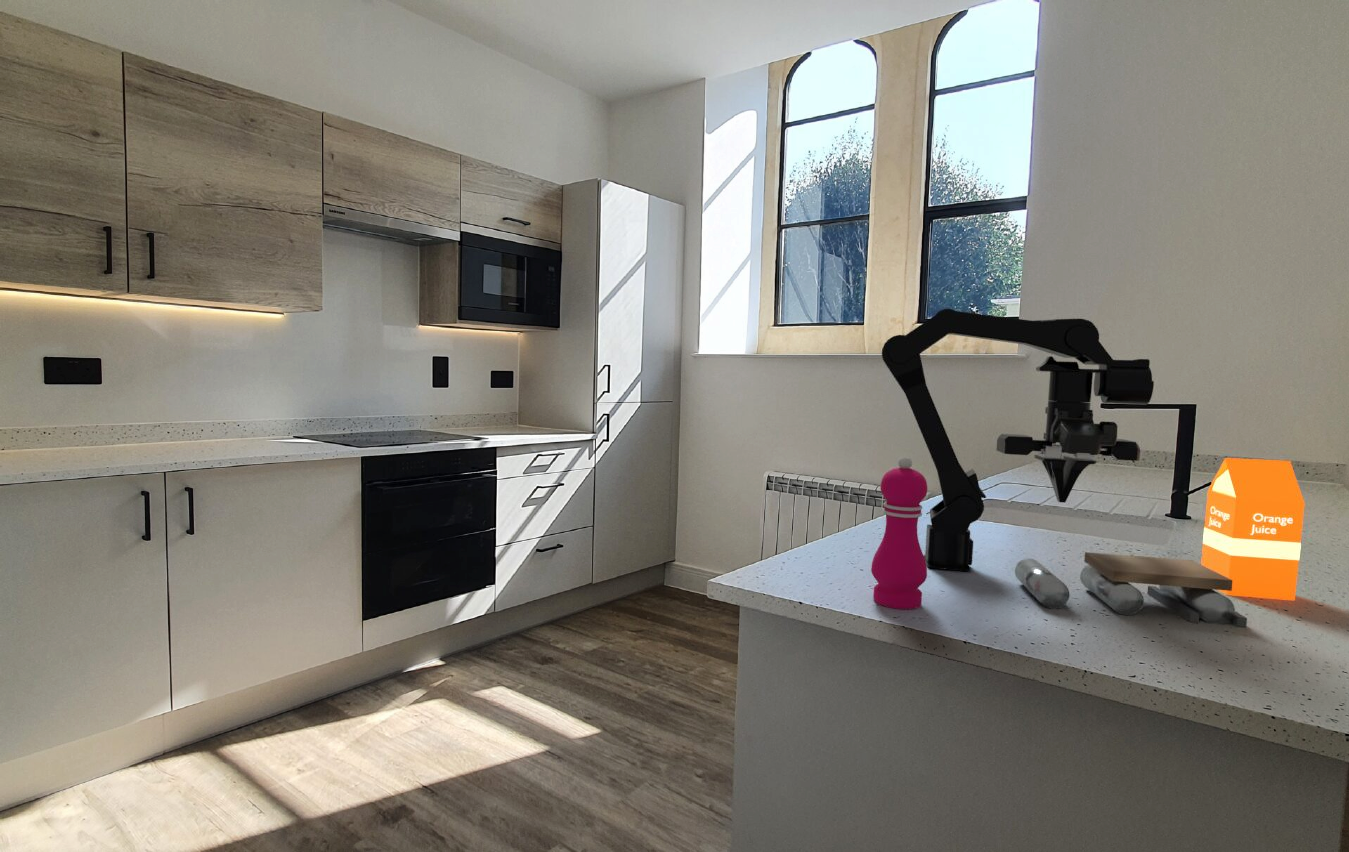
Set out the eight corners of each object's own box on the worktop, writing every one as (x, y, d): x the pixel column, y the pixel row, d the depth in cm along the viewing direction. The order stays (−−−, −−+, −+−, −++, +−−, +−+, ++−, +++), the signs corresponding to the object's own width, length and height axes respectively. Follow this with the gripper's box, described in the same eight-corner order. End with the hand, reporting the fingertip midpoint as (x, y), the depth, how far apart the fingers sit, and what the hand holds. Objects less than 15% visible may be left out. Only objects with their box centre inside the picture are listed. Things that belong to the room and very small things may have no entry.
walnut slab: (1112, 581, 93) (1113, 570, 93) (1084, 561, 102) (1085, 552, 102) (1231, 590, 90) (1232, 580, 90) (1191, 569, 100) (1192, 560, 99)
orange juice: (1295, 600, 101) (1309, 464, 99) (1226, 595, 102) (1239, 460, 101) (1262, 585, 108) (1274, 458, 107) (1198, 580, 110) (1209, 454, 109)
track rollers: (1036, 606, 94) (1038, 578, 94) (1014, 583, 105) (1015, 557, 105) (1142, 616, 92) (1145, 586, 91) (1108, 591, 102) (1110, 564, 102)
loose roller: (1157, 596, 101) (1161, 569, 101) (1187, 600, 100) (1192, 573, 100) (1197, 622, 90) (1202, 592, 90) (1231, 627, 90) (1237, 597, 89)
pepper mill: (882, 590, 100) (890, 452, 98) (932, 601, 95) (941, 457, 94) (860, 601, 94) (868, 455, 93) (913, 615, 90) (922, 461, 88)
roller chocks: (1189, 621, 90) (1190, 612, 90) (1147, 593, 102) (1147, 585, 102) (1246, 627, 89) (1247, 617, 89) (1196, 597, 101) (1197, 589, 100)
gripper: (1018, 401, 101) (1010, 507, 102) (1162, 406, 97) (1152, 516, 98) (998, 399, 112) (992, 494, 113) (1127, 403, 108) (1119, 502, 109)
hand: (1061, 502), depth 108 cm, fingers closed
